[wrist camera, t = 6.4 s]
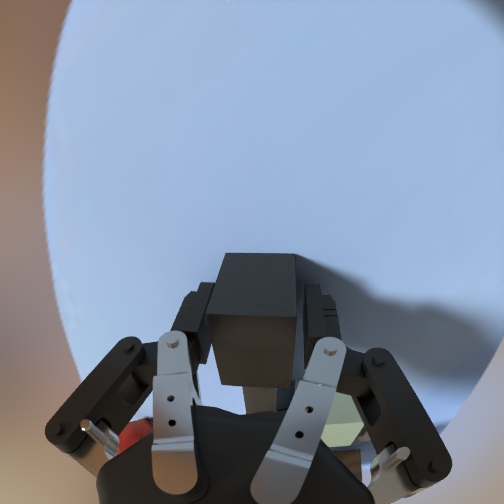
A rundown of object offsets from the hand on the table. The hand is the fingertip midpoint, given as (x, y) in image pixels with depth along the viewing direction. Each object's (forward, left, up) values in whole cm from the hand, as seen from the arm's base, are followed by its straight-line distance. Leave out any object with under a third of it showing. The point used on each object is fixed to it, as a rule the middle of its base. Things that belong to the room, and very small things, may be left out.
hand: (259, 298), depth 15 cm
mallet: (+7, +4, -1) cm, 8 cm away
